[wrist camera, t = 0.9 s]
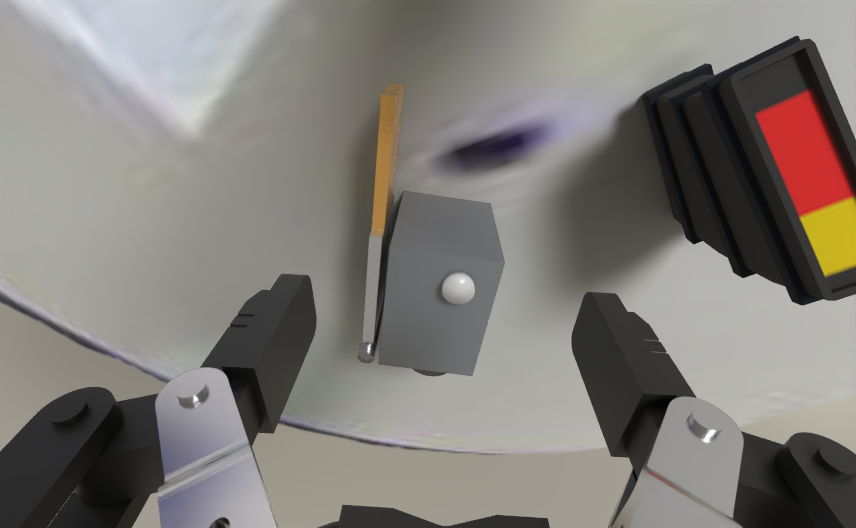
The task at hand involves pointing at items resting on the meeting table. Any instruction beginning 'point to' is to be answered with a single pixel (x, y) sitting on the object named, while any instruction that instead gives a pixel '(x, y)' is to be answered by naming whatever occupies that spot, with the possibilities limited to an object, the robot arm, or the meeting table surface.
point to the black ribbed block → (763, 168)
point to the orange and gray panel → (381, 217)
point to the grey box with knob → (439, 284)
